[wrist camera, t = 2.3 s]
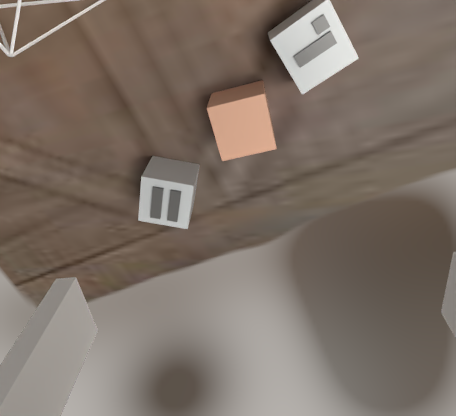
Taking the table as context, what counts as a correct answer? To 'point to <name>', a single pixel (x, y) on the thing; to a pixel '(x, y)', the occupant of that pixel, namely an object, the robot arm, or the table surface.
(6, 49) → the geometric polyhedron
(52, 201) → the table surface
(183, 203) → the marked cube
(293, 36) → the marked cube
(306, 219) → the table surface
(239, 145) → the plain cube
